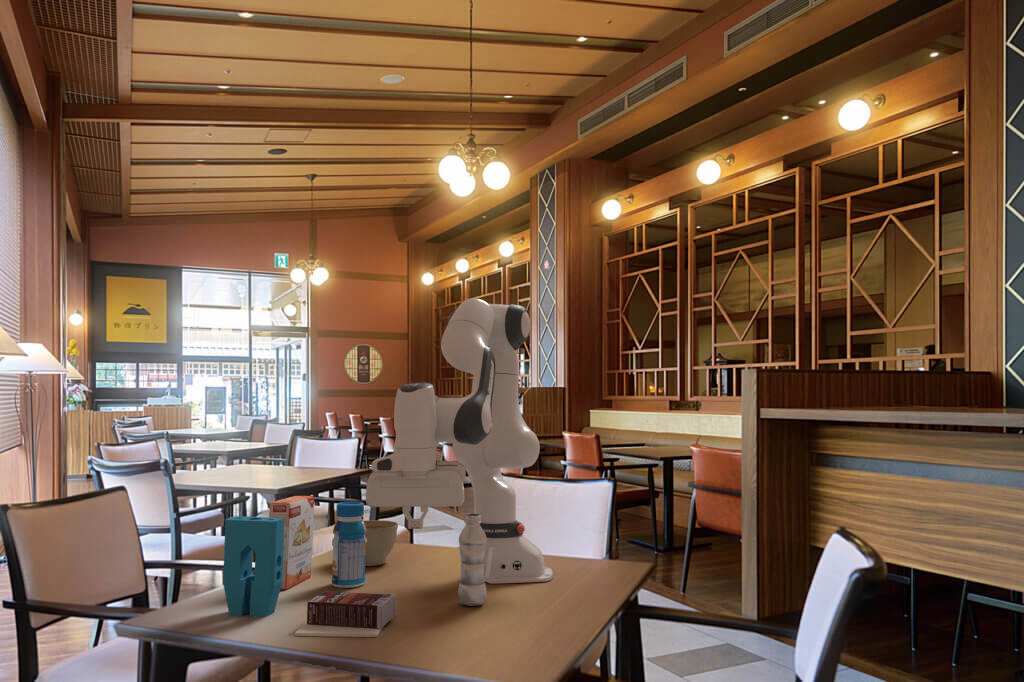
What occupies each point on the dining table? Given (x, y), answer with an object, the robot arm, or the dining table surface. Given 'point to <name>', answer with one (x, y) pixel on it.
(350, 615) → the supplement box
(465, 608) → the dining table surface
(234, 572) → the block
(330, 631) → the felt mat
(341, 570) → the beverage bottle
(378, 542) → the planter bowl
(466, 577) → the plastic bottle
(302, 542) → the cracker box
